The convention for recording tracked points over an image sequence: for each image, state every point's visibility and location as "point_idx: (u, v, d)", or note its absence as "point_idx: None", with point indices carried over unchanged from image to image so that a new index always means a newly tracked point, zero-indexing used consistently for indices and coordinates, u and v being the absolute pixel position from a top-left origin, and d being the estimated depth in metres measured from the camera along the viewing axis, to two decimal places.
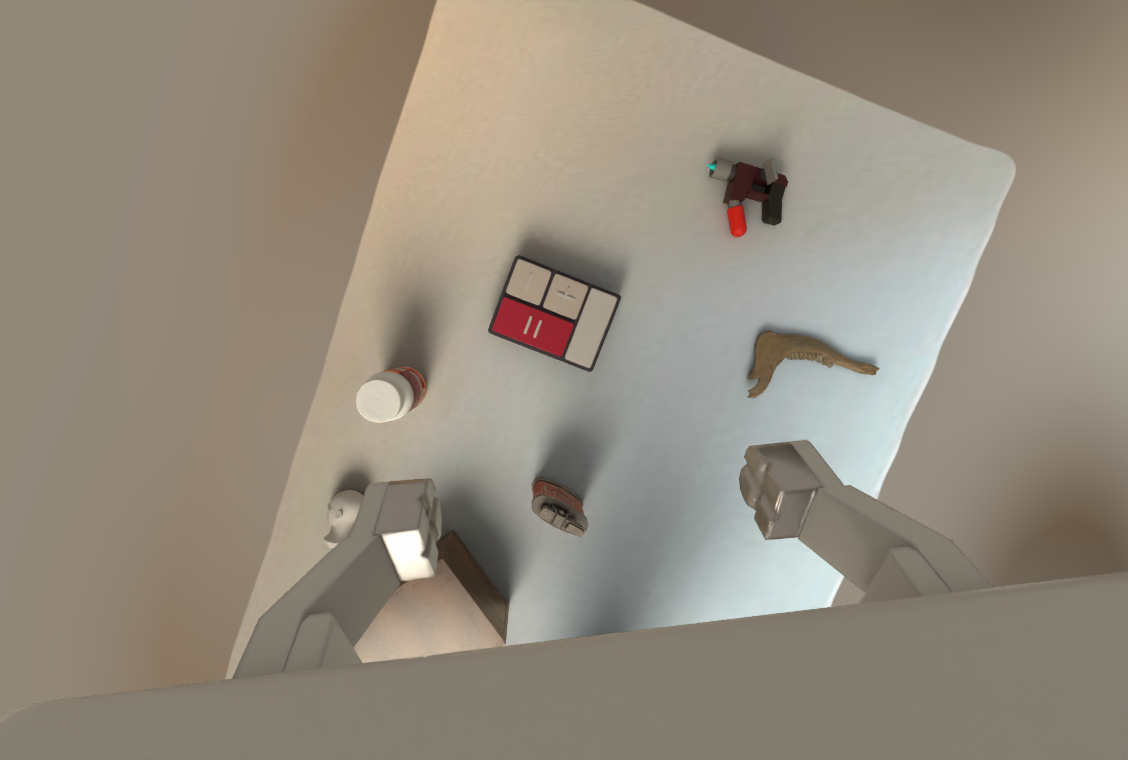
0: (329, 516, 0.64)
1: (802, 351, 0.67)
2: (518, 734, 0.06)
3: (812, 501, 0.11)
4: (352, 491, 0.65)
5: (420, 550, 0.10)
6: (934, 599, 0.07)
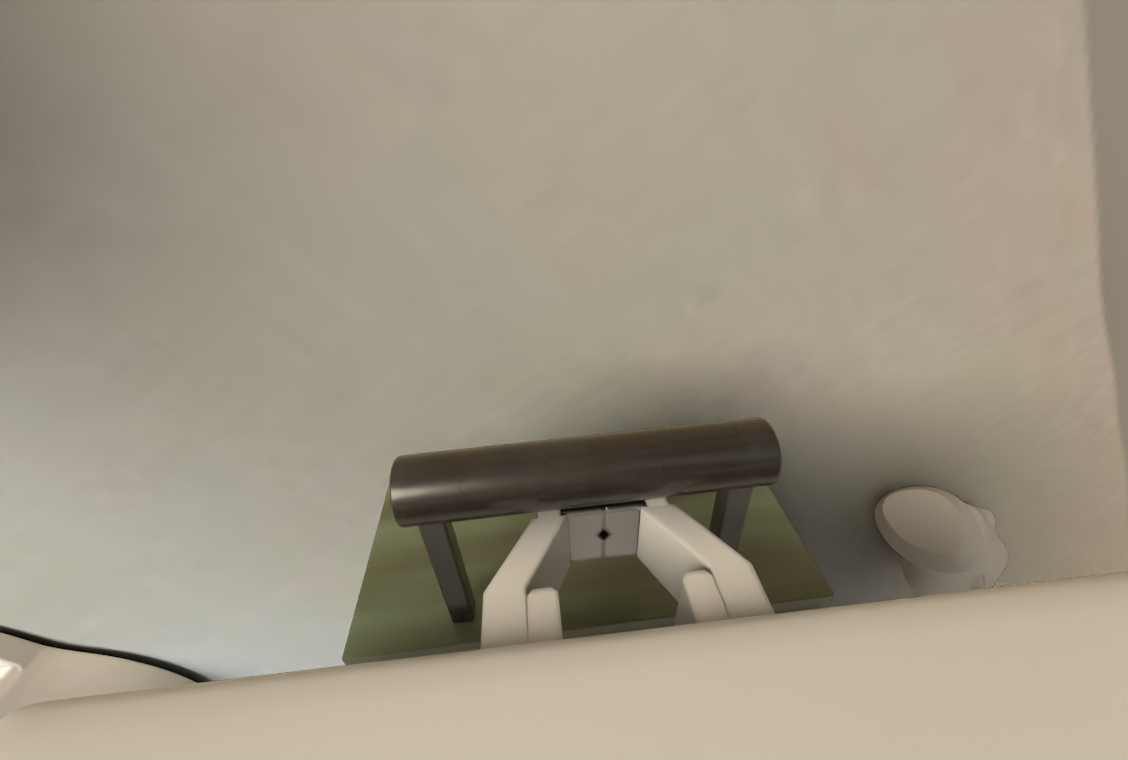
0: (996, 549, 0.21)
1: None
2: (518, 734, 0.06)
3: (638, 520, 0.10)
4: None
5: (598, 531, 0.11)
6: (934, 599, 0.07)
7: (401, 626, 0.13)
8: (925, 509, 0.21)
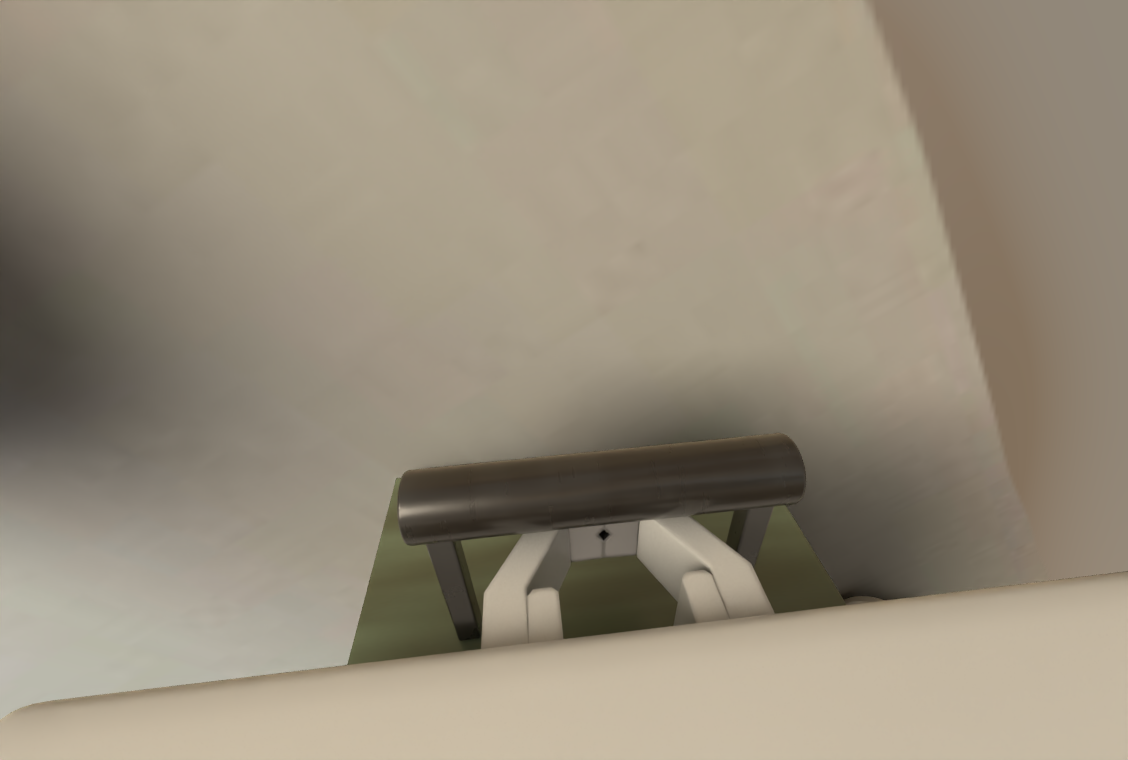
0: None
1: None
2: (518, 734, 0.06)
3: None
4: None
5: (599, 530, 0.11)
6: (934, 599, 0.07)
7: (405, 642, 0.12)
8: None
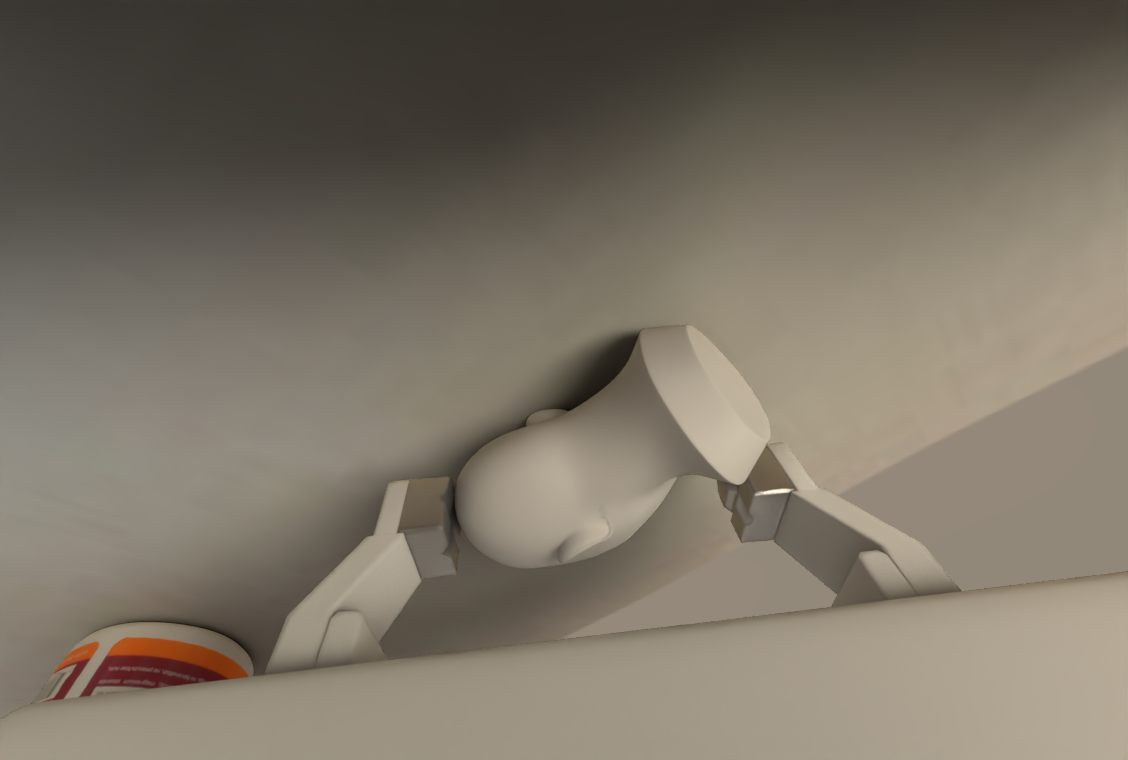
0: (643, 523, 0.12)
1: None
2: (518, 734, 0.06)
3: (786, 504, 0.11)
4: None
5: (443, 548, 0.10)
6: (934, 599, 0.07)
7: None
8: (735, 380, 0.11)
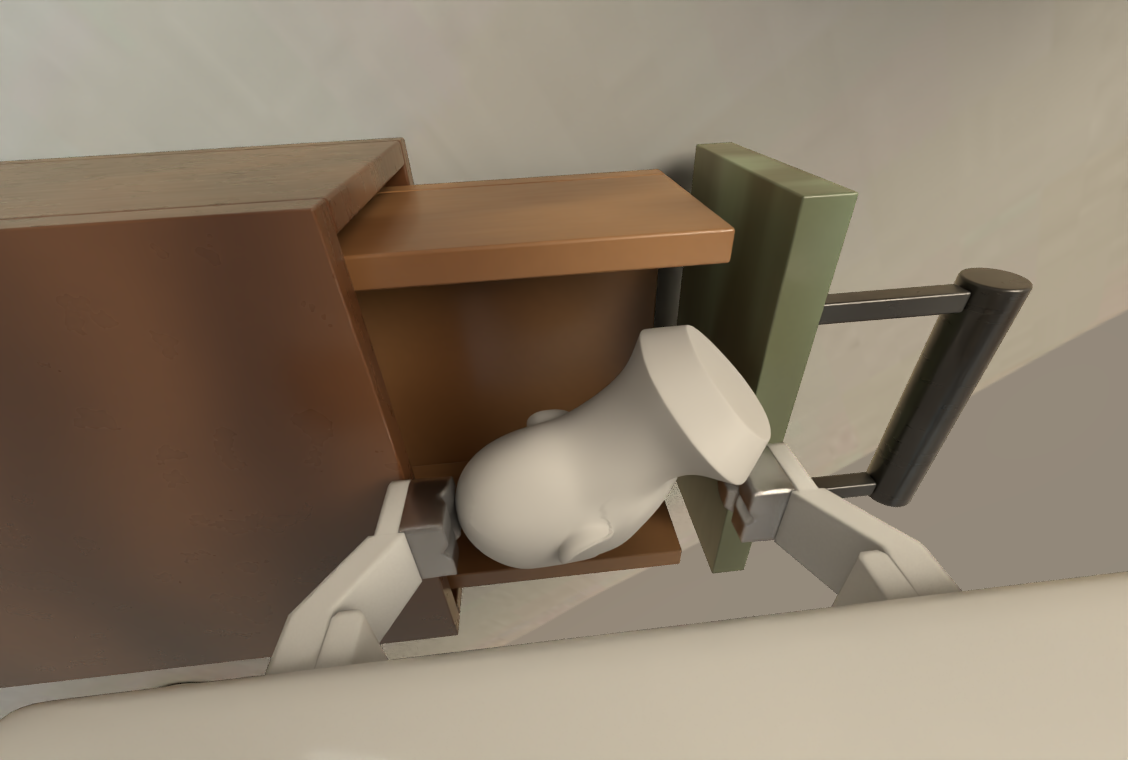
0: (643, 523, 0.12)
1: None
2: (518, 734, 0.06)
3: (786, 504, 0.11)
4: None
5: (443, 547, 0.10)
6: (934, 599, 0.07)
7: None
8: (735, 380, 0.11)
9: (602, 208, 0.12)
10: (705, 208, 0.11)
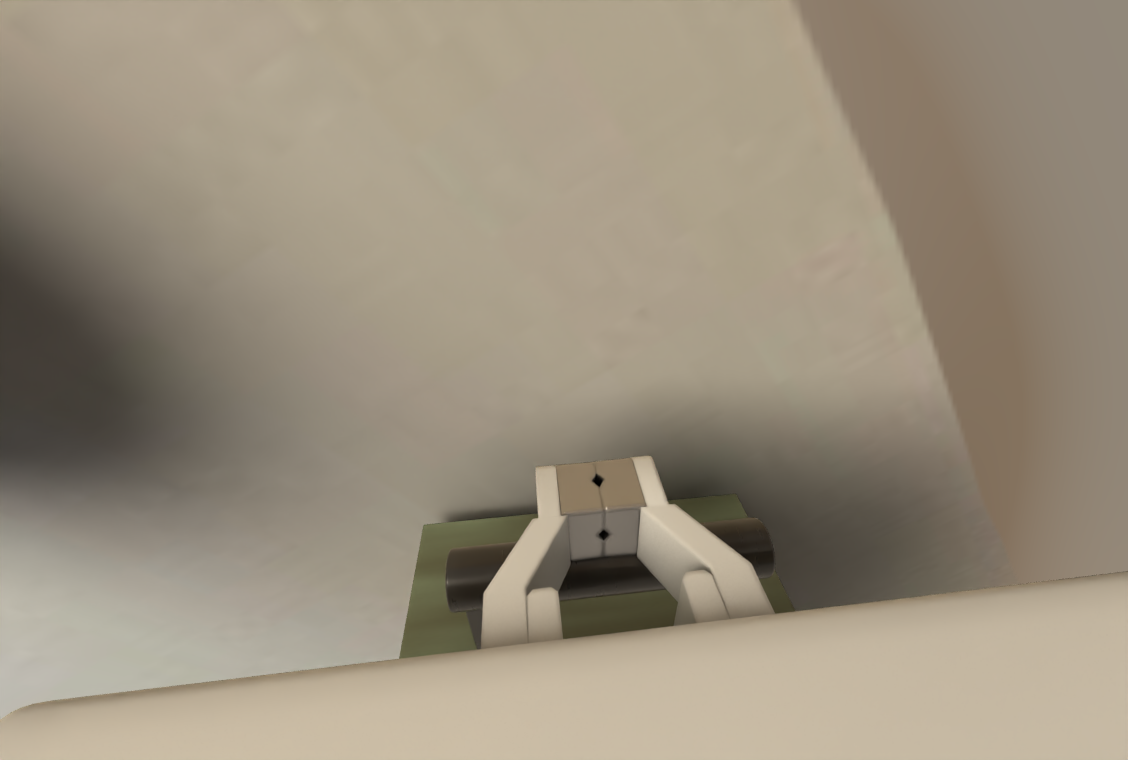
0: None
1: None
2: (518, 734, 0.06)
3: (638, 520, 0.10)
4: None
5: (599, 531, 0.11)
6: (934, 599, 0.07)
7: None
8: None
9: None
10: None
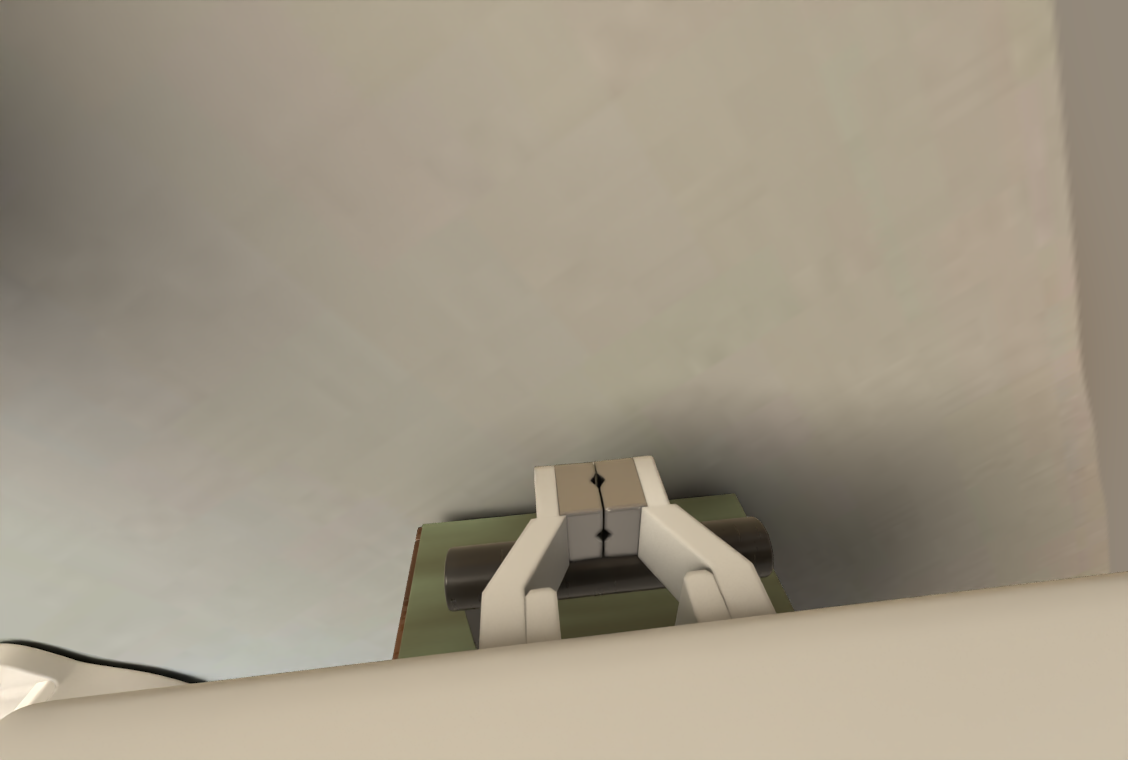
0: None
1: None
2: (518, 734, 0.06)
3: (639, 520, 0.10)
4: None
5: (597, 531, 0.11)
6: (934, 599, 0.07)
7: None
8: None
9: None
10: None
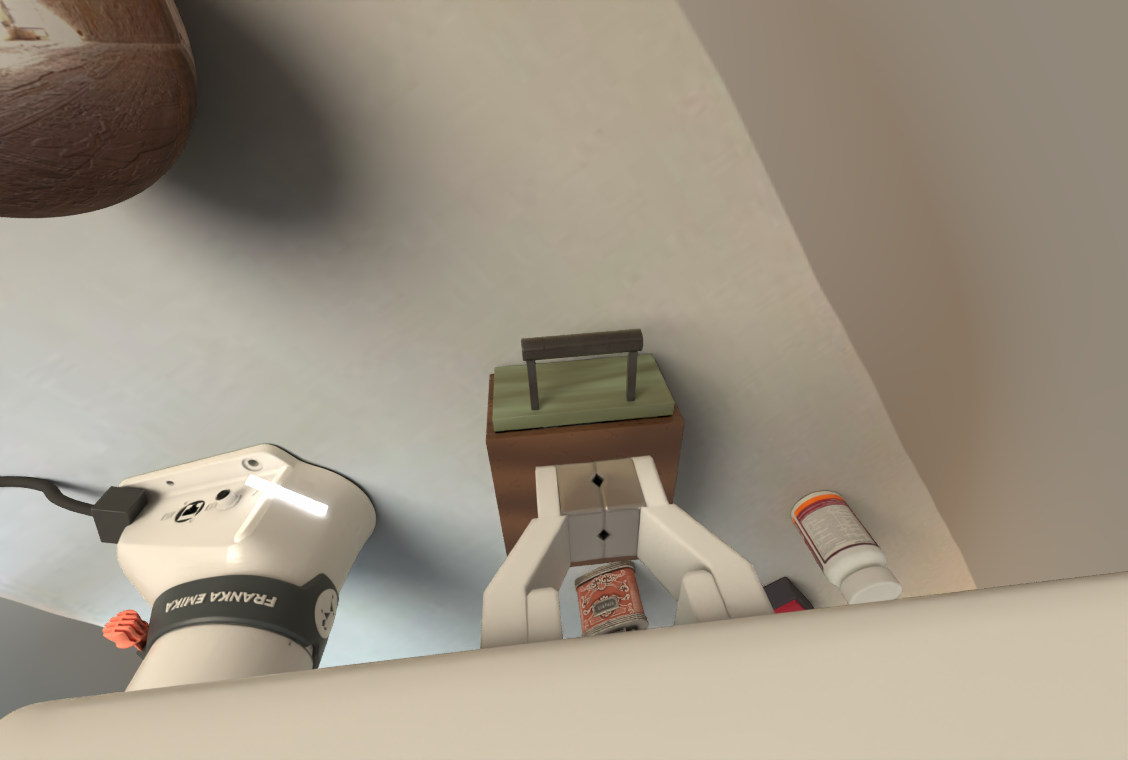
0: None
1: None
2: (518, 734, 0.06)
3: (638, 520, 0.10)
4: None
5: (599, 530, 0.11)
6: (934, 599, 0.07)
7: (512, 411, 0.34)
8: None
9: None
10: None
